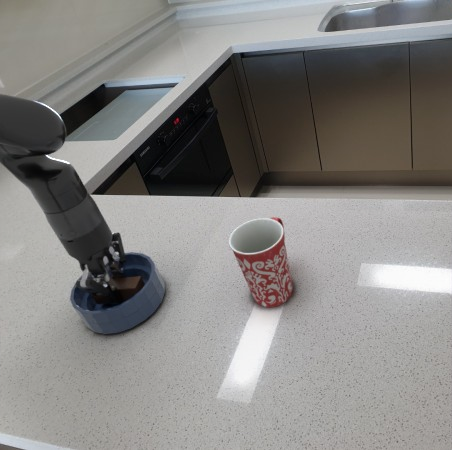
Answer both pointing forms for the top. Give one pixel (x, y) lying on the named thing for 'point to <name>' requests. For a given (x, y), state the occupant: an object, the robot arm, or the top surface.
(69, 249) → the robot arm
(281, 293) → the mug
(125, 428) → the top surface
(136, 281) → the bar
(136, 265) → the bowl
